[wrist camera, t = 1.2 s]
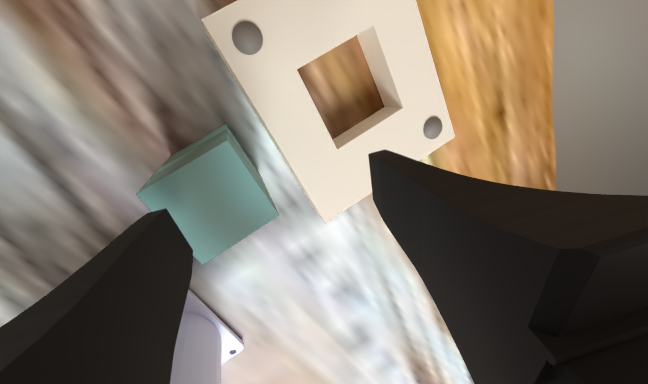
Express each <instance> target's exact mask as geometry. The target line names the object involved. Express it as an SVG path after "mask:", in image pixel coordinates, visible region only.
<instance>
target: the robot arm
mask: <svg viewBox="0 0 648 384" xmlns="http://www.w3.org/2000/svg"><path fill="white" fill-rule="evenodd" d="M368 157H369V166H370V175H371V185H372V194H373V200H374V203H375V205H376V207H377V209H378V211H379V213H380V215H381V217H382V219H383V221H384V222H385V224H386V225H387V227H388V228H389V230H390V231H391V233H392V234H393V236H394V237H395V239H396V240H397V242H398V243H399V245H400V246H401V248H402V249H403V250H404V252H405V253H406V255H407V256H408V258H409V259H410V261H411V262H412V264H413V265H414V267H415V268H416V270H417V271H418V273H419V275H420V276H421V278H422V280H423V282H424V283H425V285H426V287H427V289H428V291H429V293H430V295H431V296H432V298H433V300H434V302H435V304H436V306H437V308H438V310H439V312H440V314H441V316H442V318H443V319H444V321H445V323H446V325H447V327H448V329H449V331H450V333H451V335H452V337H453V339H454V341H455V343H456V346H457V348H458V350H459V352H460V354H461V356H462V358H463V360H464V362H465V364H466V366H467V368H468V370H469V373H470V375H471V377H472V379H473V381H474V383H475V384H648V196H634V195H601V194H586V193H572V192H560V191H551V190H541V189H534V188H527V187H520V186H513V185H506V184H501V183H495V182H490V181H486V180H481V179H477V178H472V177H468V176H464V175H460V174H457V173H453V172H450V171H446V170H443V169H440V168H437V167H434V166H431V165H428V164H425V163H422V162H419V161H417V160H414V159H411V158H408V157H406V156H403V155H400V154H398V153H395V152H392V151H389V150H381V151H377V152H373V153H369V154H368ZM192 263H193V249H192V248H191V246H190V245H189V243H188V241H187V240H186V238H185V237H184V235H183V234H182V232H181V230H180V229H179V227H178V226H177V224H176V223H175V221H174V220H173V218H172V216H171V215H170V213H169V212H168V210H167V209H166V208H165V209H161V210H157V211H154V212H150V213H147V214H146V215H144V216H143V217H141V218H140V219H139V220H137V221H136V222H135V223H134V224H132V225H131V226H130V227H129V228H128V229H126V230H125V231H124V232H123V233H122V234H120V235H119V236H118V237H117V238H116V239H115V240H113V241H112V242H111V243H110V244H109V245H108V246H106V247H105V248H104V249H103V250H102V251H101V252H99V253H98V254H97V255H96V256H95V257H94V258H92V259H91V260H90V261H89V262H87V263H86V264H85V265H84V266H82V267H81V268H80V269H79V270H78V271H76V272H75V273H74V274H73V275H71V276H70V277H69V278H68V279H66V280H65V281H64V282H63V283H62V284H60V285H59V286H58V287H56V288H55V289H54V290H52V291H51V292H50V293H48V294H47V295H46V296H44V297H43V298H42V299H40V300H39V301H38V302H36V303H35V304H33V305H32V306H31V307H29V308H28V309H26V310H25V311H24V312H22V313H21V314H19V315H18V316H17V317H15V318H14V319H12V320H11V321H9V322H8V323H6V324H5V325H3V326H2V327H0V384H221V365H222V364H224V363H225V362H227V361H228V360H229V359H231V358H232V357H234V356H235V355H237V354H238V353H239V352H241V351H242V350H243V349H244V343H243V341H242V340H241V339H240V338H239V337H238V336H237V335H236V334H235V333H234V332H233V331H232V330H231V329H229V328H228V327H227V326H226V325H225V324H224V323H223V322H222V321H221V320H220V319H219V318H218V317H217V316H216V315H215V314H214V313H213V312H212V311H211V310H210V309H209V308H208V307H207V306H206V305H205V304H204V303H203V302H202V301H201V300H200V299H199V298H197V297H196V296H195V295H194V294H193V293H192V292H191V291H190V290H189V284H190V280H191V274H192ZM233 349H234V350H233ZM231 350H233V351H231Z"/></svg>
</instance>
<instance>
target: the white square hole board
mask: <svg viewBox="0 0 648 384" xmlns="http://www.w3.org/2000/svg"><path fill="white" fill-rule="evenodd" d="M201 20H202V24H203V27H204V30H205V32H206V34H207V35H208V37H209V39H210V40H211V42H212V43H213V45H214V47H215V48H216V50H217V52H218V53H219V55H220V57H221V58H222V60H223V61H224V63H225V65H226V66H227V68H228V70H229V71H230V73H231V74H232V76H233V78H234V79H235V81H236V83H237V84H238V86H239V87H240V89H241V91H242V92H243V94H244V96H245V97H246V99H247V100H248V102H249V104H250V105H251V107H252V109H253V110H254V112H255V114H256V115H257V117H258V118H259V120H260V122H261V123H262V125H263V127H264V128H265V130H266V131H267V133H268V135H269V136H270V138H271V140H272V141H273V143H274V144H275V146H276V148H277V149H278V151H279V153H280V154H281V156H282V158H283V159H284V161H285V162H286V164H287V166H288V167H289V169H290V171H291V172H292V174H293V175H294V177H295V179H296V180H297V182H298V184H299V185H300V187H301V188H302V190H303V192H304V193H305V195H306V197H307V198H308V200H309V202H310V203H311V205H312V206H313V208H314V210H315V211H316V212H317V214H318V215H319V216H320V217H321V219H322V220H323V221H324V222H325V223H327V222H328V221H330V220H331V219H333V218H334V217H336V216H337V215H339V214H340V213H342V212H343V211H345V210H346V209H348V208H349V207H351V206H352V205H354V204H355V203H357V202H358V201H360V200H361V199H363V198H364V197H366V196H367V195H369V194H370V193H372V185H371V175H370V166H369V157H368V154H369V153H373V152H377V151H381V150H389V151H392V152H395V153H398V154H400V155H403V156H406V157H408V158H411V159H414V160H417V161H420V160H421V159H423V158H424V157H426V156H427V155H429V154H430V153H432V152H433V151H435V150H436V149H438V148H439V147H441V146H442V145H444V144H445V143H447V142H448V141H450V140H451V139H453V138H454V137H455V135H454V131H453V128H452V124H451V121H450V118H449V114H448V111H447V107H446V104H445V100H444V97H443V93H442V90H441V86H440V83H439V79H438V76H437V72H436V69H435V65H434V62H433V58H432V55H431V52H430V48H429V45H428V41H427V38H426V34H425V31H424V27H423V24H422V20H421V17H420V13H419V10H418V6H417V3H416V0H237V1H235V2H233V3H231V4H229V5H227V6H226V7H224V8H222V9H220V10H218V11H216V12H214V13H212V14H210V15H209V16H207V17H205V18H203V19H201ZM355 35H357V38H358V41H359V43H360V46H361V48H362V51H363V53H364V56H365V58H366V61H367V64H368V66H369V69H370V71H371V74H372V76H373V79H374V81H375V84H376V87H377V89H378V92H379V94H380V97H381V99H382V102H383V104H384V107H383V108H382V109H380V110H379V111H377V112H375V113H374V114H372V115H371V116H369V117H367V118H366V119H364V120H363V121H361V122H359V123H358V124H356V125H355V126H353V127H351V128H350V129H348V130H347V131H345V132H343V133H342V134H340V135H339V136H337V137H335V138H334V139H332V138H331V136H330V134H329V132H328V130H327V128H326V126H325V124H324V122H323V120H322V118H321V116H320V114H319V112H318V110H317V108H316V106H315V104H314V102H313V100H312V99H311V97H310V95H309V93H308V91H307V89H306V87H305V85H304V83H303V81H302V79H301V77H300V75H299V73H298V71H297V69H299V68H300V67H302V66H304V65H306V64H307V63H309V62H311V61H312V60H314V59H316V58H318V57H319V56H321V55H323V54H324V53H326V52H328V51H330V50H331V49H333V48H335V47H336V46H338V45H340V44H342V43H343V42H345V41H347V40H349V39H350V38H352V37H354V36H355Z"/></svg>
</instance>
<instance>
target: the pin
mask: <svg viewBox="0 0 648 384" xmlns="http://www.w3.org/2000/svg"><path fill="white" fill-rule="evenodd" d="M136 196H137V197H138V198H139V199H140V200H141V201H142V202H143V203H144V204H145V205H146V206H147V207H148V208H149V209H150V210H151V211H152V212H154V211H157V210H161V209H165V208H166V209H167V210H168V212H169V213H170V215H171V216H172V218H173V220H174V221H175V223H176V224H177V226H178V227H179V229H180V230H181V232H182V234H183V235H184V237H185V238H186V240H187V241H188V243H189V245H190V246H191V248H192V249H193V256H194V257H195V258H196V259H197V260H198V261H199V262H200V263H201V264H202V265H203V264H205V263H206V262H208V261H210V260H211V259H213V258H214V257H216V256H217V255H219V254H220V253H222V252H223V251H225V250H227V249H228V248H230V247H231V246H233V245H234V244H236V243H237V242H239V241H240V240H242V239H243V238H245V237H247V236H248V235H250V234H251V233H253V232H254V231H256V230H257V229H259V228H260V227H262V226H264V225H265V224H267V223H268V222H270V221H271V220H273V219H274V218H276V217H277V216H279V214H278V212H277V210H276V207H275V205H274V203H273V201H272V199H271V197H270V195H269V193H268V191H267V188H266V186H265V184H264V182H263V180H262V178H261V176H260V174H259V172H258V170H257V169H256V168H255V166H254V165H253V163H252V162H251V160H250V159H249V157H248V156H247V154H246V153H245V151H244V150H243V148H242V147H241V145H240V144H239V142H238V141H237V139H236V138H235V136H234V135H233V133H232V132H231V131H230V129H229V128H228V126H227V125H226V124H224V125H222V126H221V127H219V128H217V129H215V130H214V131H212V132H210V133H209V134H207V135H205V136H204V137H202V138H200V139H198V140H197V141H195V142H193V143H192V144H190V145H188V146H187V147H185V148H183V149H181V150H180V151H178V152H176V153H175V154H173V155H171V156H170V157H169V158H168V159H167V161H166V162H165V163H164V164H163V165H162V166H161V167H160V168H159V169H158V171H157V172H156V173H155V174H154V175H153V176H152V177H151V178H150V179H149V181H148V182H147V183H146V184H145V185H144V186H143V187H142V188H141V189H140V190H139V192H138V193H137V194H136Z"/></svg>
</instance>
